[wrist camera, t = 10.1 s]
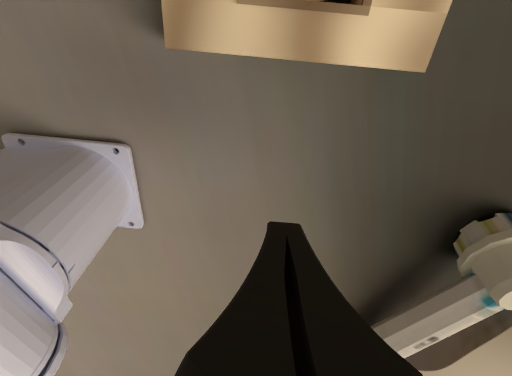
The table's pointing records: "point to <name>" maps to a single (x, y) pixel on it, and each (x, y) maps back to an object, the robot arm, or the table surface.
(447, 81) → the table surface
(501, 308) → the white long knobbed bar
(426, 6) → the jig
